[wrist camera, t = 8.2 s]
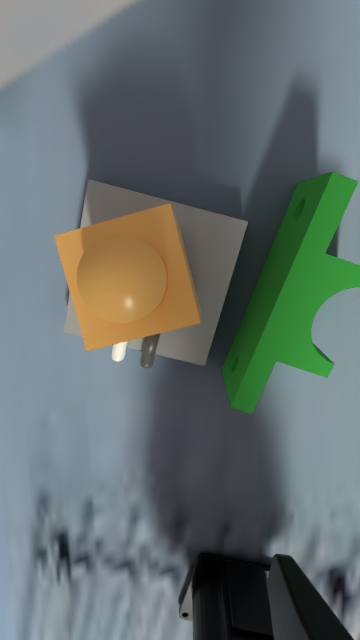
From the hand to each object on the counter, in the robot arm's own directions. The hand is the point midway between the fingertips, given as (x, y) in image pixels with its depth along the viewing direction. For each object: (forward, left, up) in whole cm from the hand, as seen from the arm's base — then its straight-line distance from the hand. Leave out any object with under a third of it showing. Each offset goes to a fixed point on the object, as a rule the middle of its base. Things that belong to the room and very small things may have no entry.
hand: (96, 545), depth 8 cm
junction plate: (+5, +1, -12) cm, 13 cm away
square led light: (+5, +1, -10) cm, 12 cm away
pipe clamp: (+6, -7, -13) cm, 15 cm away
